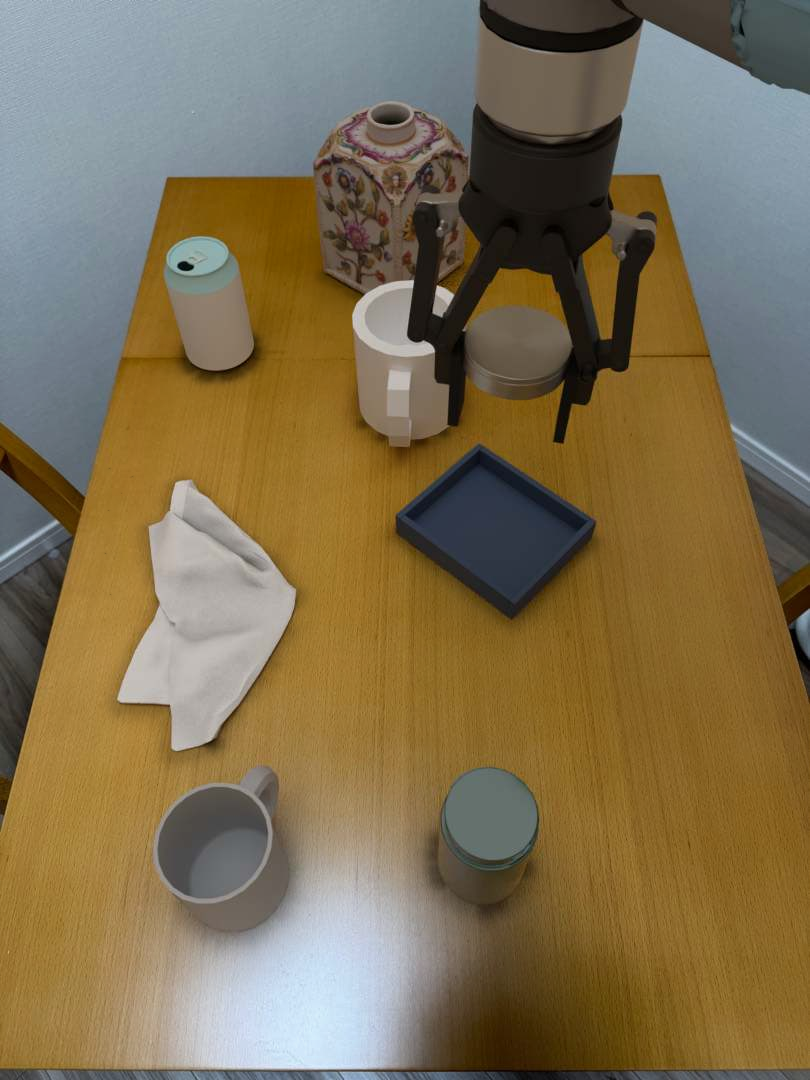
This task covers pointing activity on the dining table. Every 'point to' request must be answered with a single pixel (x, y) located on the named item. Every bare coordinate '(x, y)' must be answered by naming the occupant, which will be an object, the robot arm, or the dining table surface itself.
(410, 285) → the mug
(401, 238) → the decorative jar
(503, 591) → the tray
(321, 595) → the dining table surface
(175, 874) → the cup
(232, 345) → the can
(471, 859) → the jar
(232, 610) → the cloth
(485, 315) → the lid
